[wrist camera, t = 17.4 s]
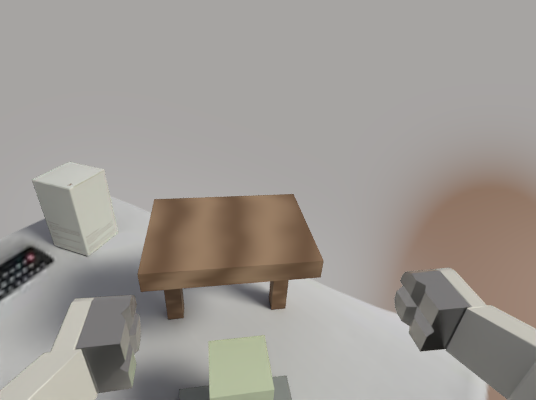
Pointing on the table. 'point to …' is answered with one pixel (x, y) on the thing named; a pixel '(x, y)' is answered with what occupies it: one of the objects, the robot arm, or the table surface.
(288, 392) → the slate mat
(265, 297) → the table surface
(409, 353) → the table surface
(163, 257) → the shelf stand
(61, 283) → the table surface
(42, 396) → the robot arm
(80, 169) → the supplement box
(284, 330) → the table surface
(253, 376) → the sage block
